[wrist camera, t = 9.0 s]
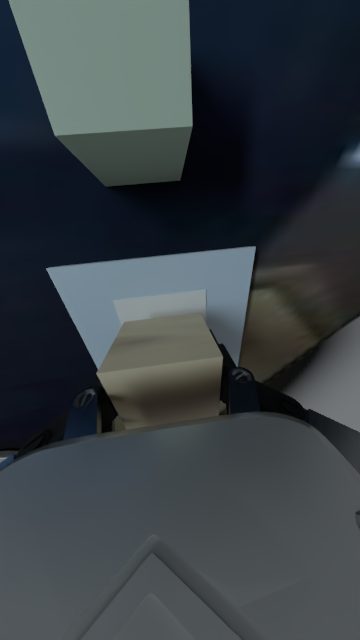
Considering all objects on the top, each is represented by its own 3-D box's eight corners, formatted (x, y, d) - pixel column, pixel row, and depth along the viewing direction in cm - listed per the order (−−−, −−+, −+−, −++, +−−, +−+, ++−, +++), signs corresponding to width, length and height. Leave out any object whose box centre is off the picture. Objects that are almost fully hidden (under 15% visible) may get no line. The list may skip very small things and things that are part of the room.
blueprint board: (233, 365, 19) (237, 371, 18) (111, 382, 18) (108, 390, 17) (249, 246, 12) (256, 246, 11) (55, 266, 11) (44, 268, 10)
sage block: (180, 181, 10) (192, 126, 5) (106, 187, 9) (55, 135, 5) (171, 50, 7) (180, -250, 3) (72, 55, 7) (-81, -262, 3)
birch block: (201, 366, 14) (217, 422, 10) (141, 374, 14) (129, 435, 9) (200, 312, 11) (223, 356, 7) (124, 321, 11) (96, 373, 6)
